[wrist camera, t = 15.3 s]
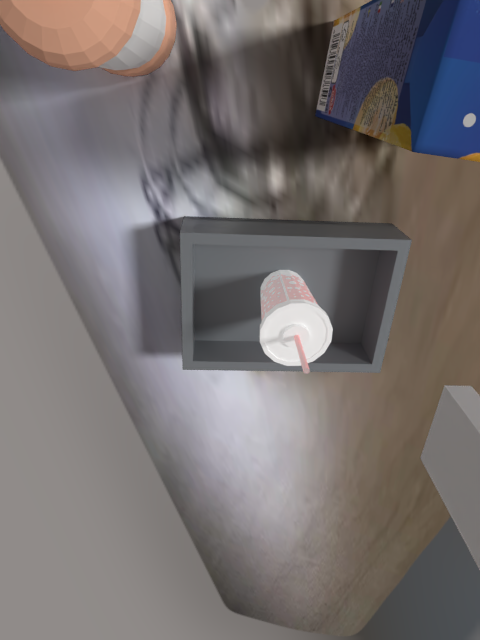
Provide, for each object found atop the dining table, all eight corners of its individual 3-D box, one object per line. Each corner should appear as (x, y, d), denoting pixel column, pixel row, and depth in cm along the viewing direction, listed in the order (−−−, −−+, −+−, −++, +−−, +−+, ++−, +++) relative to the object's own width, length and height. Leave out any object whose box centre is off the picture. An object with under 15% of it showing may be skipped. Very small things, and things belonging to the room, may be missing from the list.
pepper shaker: (195, 36, 35) (170, -6, 18) (125, 96, 36) (43, 109, 20) (133, -62, 32) (32, -226, 15) (60, 8, 33) (-103, -66, 17)
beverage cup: (258, 322, 46) (271, 410, 34) (247, 268, 43) (258, 343, 31) (316, 311, 46) (351, 396, 33) (309, 256, 43) (344, 327, 30)
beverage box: (434, 134, 39) (648, 187, 19) (313, 115, 38) (411, 151, 18) (464, 43, 35) (754, -2, 16) (332, 20, 34) (475, -58, 15)
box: (184, 216, 41) (179, 232, 37) (391, 223, 42) (411, 239, 38) (186, 343, 48) (182, 369, 44) (365, 346, 49) (379, 372, 45)
